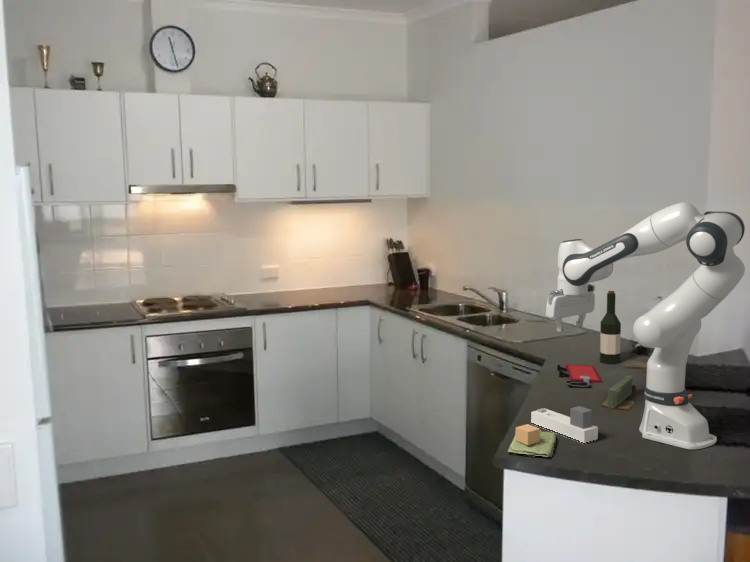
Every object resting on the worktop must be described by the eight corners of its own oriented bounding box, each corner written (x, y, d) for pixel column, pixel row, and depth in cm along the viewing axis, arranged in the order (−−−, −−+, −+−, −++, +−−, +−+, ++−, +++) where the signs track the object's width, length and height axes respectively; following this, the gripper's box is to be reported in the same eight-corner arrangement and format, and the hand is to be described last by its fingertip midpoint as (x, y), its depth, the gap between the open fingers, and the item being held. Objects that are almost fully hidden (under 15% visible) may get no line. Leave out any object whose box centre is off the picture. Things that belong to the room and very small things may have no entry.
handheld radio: (605, 407, 257) (628, 388, 277) (615, 409, 255) (637, 390, 275) (606, 389, 256) (630, 371, 276) (616, 390, 254) (639, 373, 274)
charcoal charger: (591, 432, 228) (592, 410, 227) (582, 435, 226) (583, 412, 225) (578, 427, 232) (579, 405, 231) (570, 430, 230) (570, 408, 229)
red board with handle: (562, 388, 280) (604, 389, 277) (563, 380, 279) (604, 382, 277) (555, 367, 309) (593, 368, 307) (556, 360, 309) (593, 362, 306)
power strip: (597, 439, 228) (598, 424, 227) (584, 443, 224) (584, 429, 224) (544, 419, 246) (544, 406, 245) (531, 423, 242) (531, 410, 242)
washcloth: (506, 456, 217) (506, 446, 217) (515, 435, 234) (516, 426, 233) (552, 462, 213) (552, 451, 213) (558, 440, 230) (559, 430, 229)
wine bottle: (622, 360, 315) (624, 290, 310) (617, 365, 308) (618, 293, 303) (602, 358, 320) (604, 289, 315) (596, 362, 313) (598, 292, 308)
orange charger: (545, 427, 221) (528, 432, 217) (544, 440, 221) (527, 445, 217) (532, 422, 225) (515, 427, 221) (532, 435, 225) (515, 440, 221)
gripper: (556, 292, 238) (555, 335, 240) (598, 285, 249) (597, 326, 251) (541, 290, 243) (540, 331, 245) (583, 283, 254) (582, 323, 257)
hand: (569, 328), depth 248 cm, fingers open, 8 cm apart
